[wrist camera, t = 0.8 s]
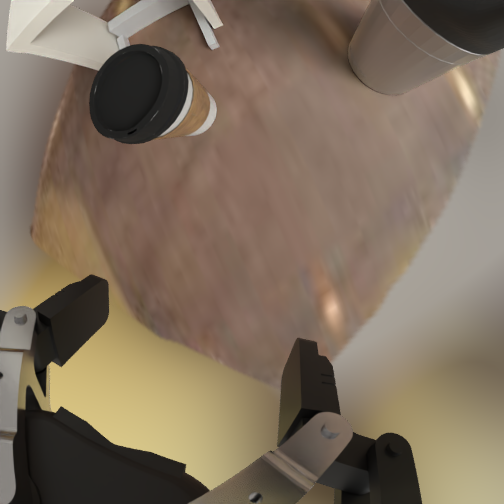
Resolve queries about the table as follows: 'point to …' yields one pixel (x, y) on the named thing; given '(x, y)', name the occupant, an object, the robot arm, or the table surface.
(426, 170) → the table surface
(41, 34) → the white rectangular frame
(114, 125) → the coffee cup
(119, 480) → the robot arm
